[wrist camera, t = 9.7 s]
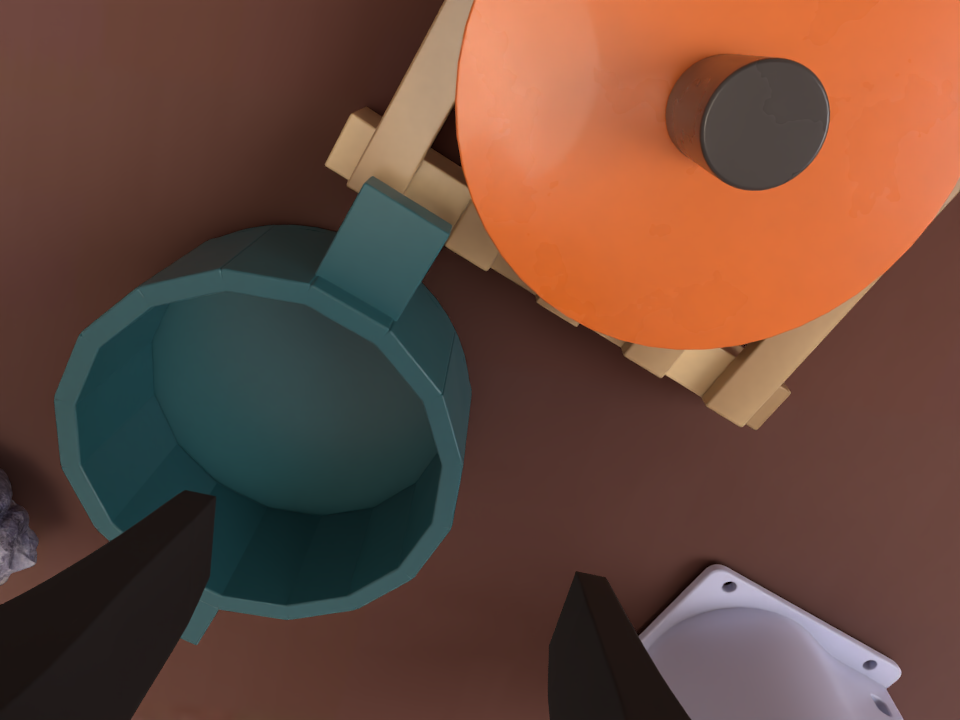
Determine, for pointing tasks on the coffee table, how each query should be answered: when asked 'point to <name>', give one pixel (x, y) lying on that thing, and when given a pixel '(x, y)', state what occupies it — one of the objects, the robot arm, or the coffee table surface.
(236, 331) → the pot
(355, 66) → the coffee table surface
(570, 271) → the lid
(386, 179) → the rack
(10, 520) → the seashell
